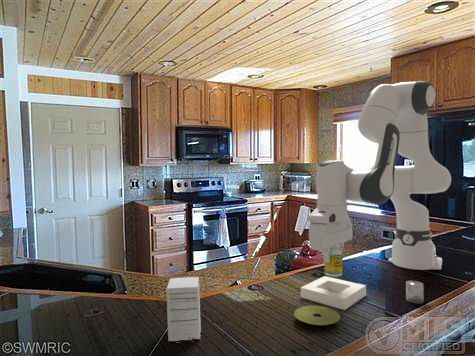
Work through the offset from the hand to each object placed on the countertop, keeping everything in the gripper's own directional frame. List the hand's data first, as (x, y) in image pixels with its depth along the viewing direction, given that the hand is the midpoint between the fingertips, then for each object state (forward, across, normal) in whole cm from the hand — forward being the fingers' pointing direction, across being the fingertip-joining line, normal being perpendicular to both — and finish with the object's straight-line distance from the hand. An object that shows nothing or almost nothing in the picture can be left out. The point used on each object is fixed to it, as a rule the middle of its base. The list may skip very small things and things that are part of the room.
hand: (333, 259), depth 99 cm
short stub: (+11, -12, +19) cm, 25 cm away
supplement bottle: (+5, 0, 0) cm, 5 cm away
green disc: (+11, +18, +5) cm, 22 cm away
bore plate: (+11, 0, 0) cm, 11 cm away
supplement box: (+11, +44, -15) cm, 48 cm away
